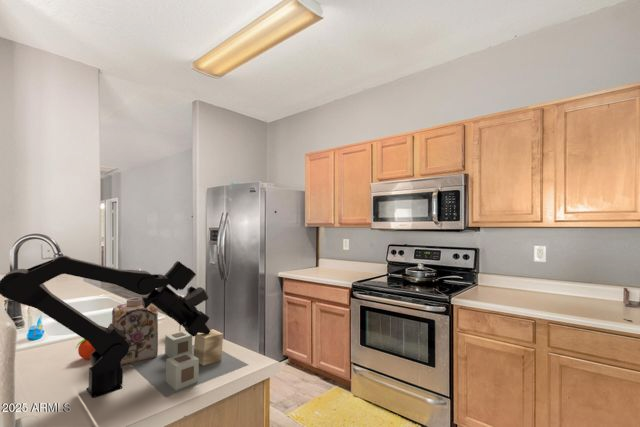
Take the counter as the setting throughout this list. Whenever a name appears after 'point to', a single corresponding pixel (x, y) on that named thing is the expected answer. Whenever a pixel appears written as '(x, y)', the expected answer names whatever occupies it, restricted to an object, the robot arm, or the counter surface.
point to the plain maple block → (208, 347)
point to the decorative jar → (137, 329)
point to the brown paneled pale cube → (178, 344)
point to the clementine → (85, 349)
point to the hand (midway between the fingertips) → (209, 332)
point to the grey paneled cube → (182, 370)
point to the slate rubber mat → (156, 372)
